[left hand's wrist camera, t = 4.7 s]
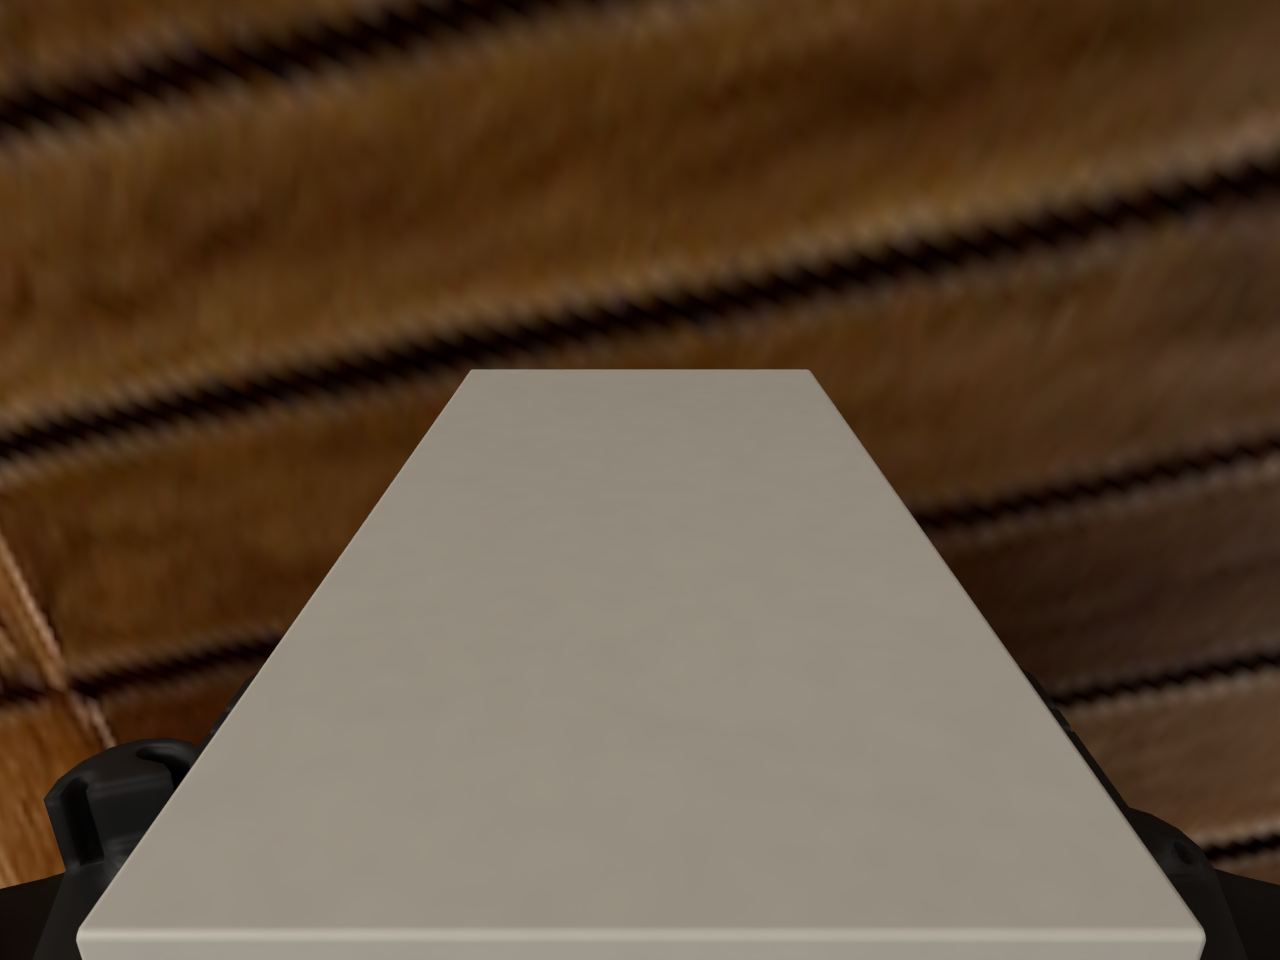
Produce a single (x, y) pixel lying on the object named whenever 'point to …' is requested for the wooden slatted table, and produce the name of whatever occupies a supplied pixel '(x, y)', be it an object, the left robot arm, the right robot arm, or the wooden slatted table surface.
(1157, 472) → the wooden slatted table surface
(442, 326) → the wooden slatted table surface
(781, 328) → the wooden slatted table surface
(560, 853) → the box
